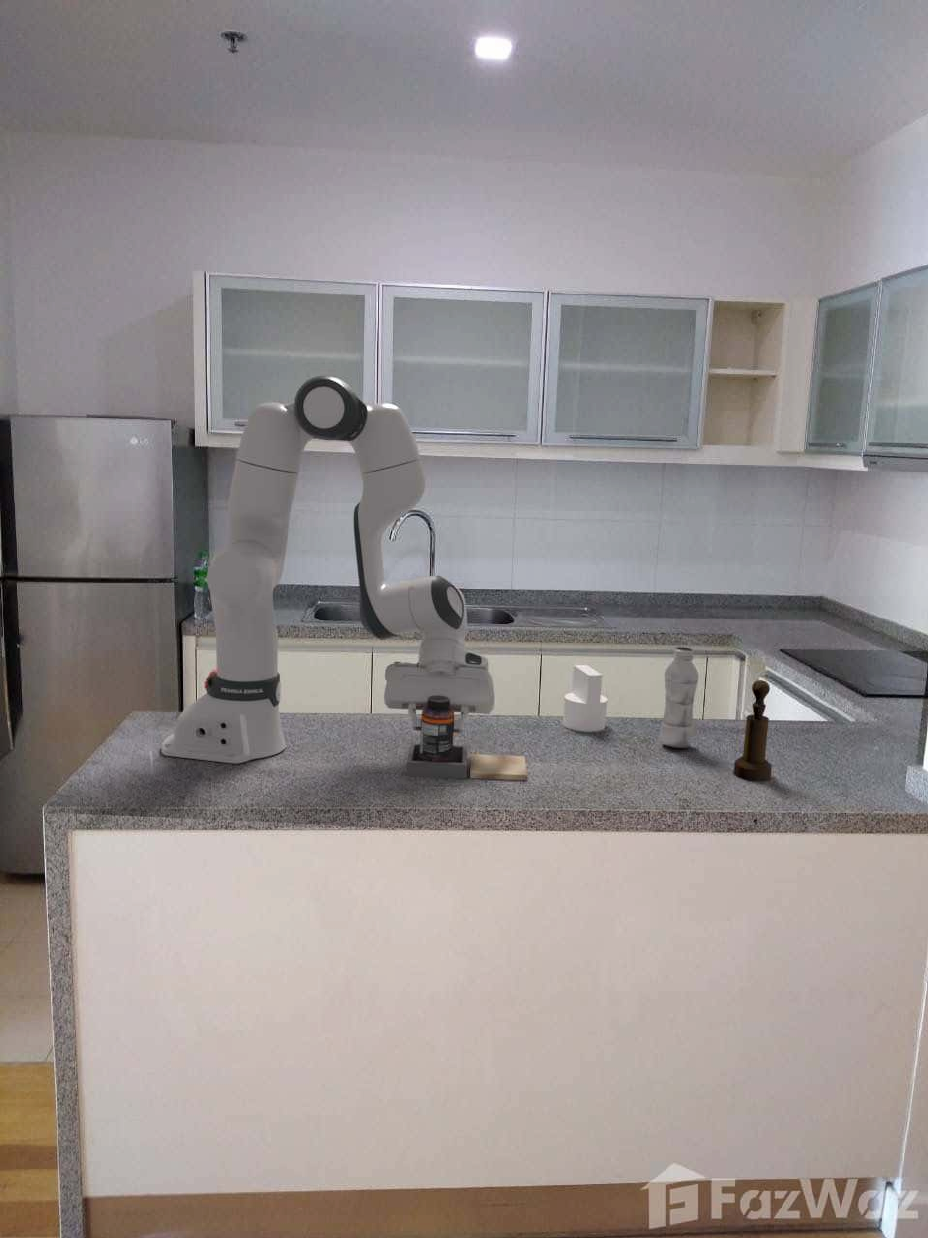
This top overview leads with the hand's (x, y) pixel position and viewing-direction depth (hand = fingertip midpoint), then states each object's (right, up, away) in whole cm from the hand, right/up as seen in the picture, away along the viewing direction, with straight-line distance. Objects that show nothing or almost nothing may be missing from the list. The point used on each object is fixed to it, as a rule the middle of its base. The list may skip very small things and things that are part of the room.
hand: (437, 730), depth 172 cm
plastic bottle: (+47, -6, +19) cm, 51 cm away
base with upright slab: (+30, -3, +31) cm, 44 cm away
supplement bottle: (0, -5, +2) cm, 6 cm away
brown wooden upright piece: (+58, -9, +5) cm, 59 cm away
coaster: (+11, -7, +2) cm, 13 cm away
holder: (0, -7, +2) cm, 7 cm away
